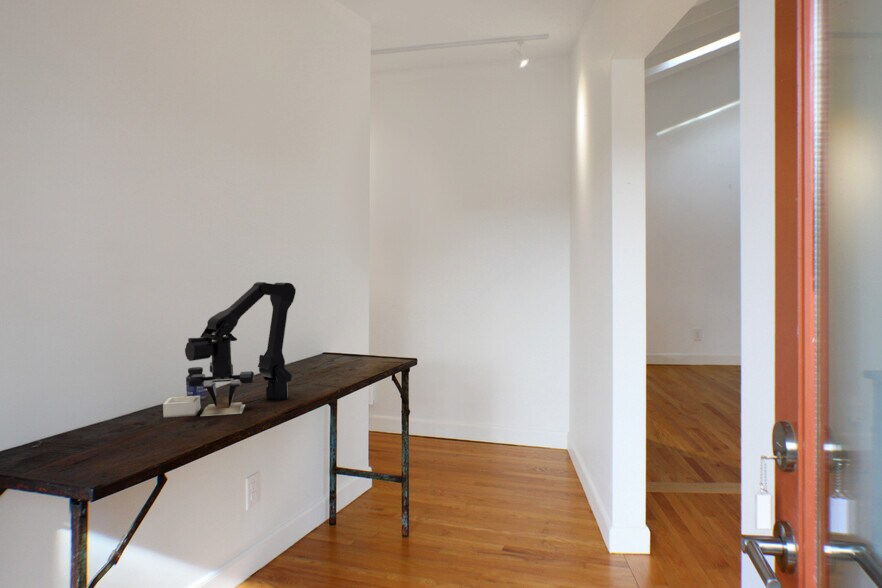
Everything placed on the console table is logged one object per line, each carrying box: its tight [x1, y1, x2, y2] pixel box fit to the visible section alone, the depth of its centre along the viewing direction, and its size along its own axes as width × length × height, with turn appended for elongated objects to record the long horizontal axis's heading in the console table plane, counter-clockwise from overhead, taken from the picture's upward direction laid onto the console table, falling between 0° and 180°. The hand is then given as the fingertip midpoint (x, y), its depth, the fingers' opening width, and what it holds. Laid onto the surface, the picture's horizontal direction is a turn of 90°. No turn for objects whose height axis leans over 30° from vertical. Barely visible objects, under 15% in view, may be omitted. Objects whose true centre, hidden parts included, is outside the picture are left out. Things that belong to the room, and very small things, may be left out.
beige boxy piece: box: [162, 395, 201, 418], centre depth 189 cm, size 9×9×4 cm
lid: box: [203, 393, 243, 416], centre depth 191 cm, size 10×10×4 cm
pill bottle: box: [185, 366, 207, 402], centre depth 207 cm, size 6×6×11 cm
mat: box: [200, 403, 246, 417], centre depth 191 cm, size 12×12×1 cm
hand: (223, 406), depth 191 cm, fingers closed on lid, 3 cm apart
